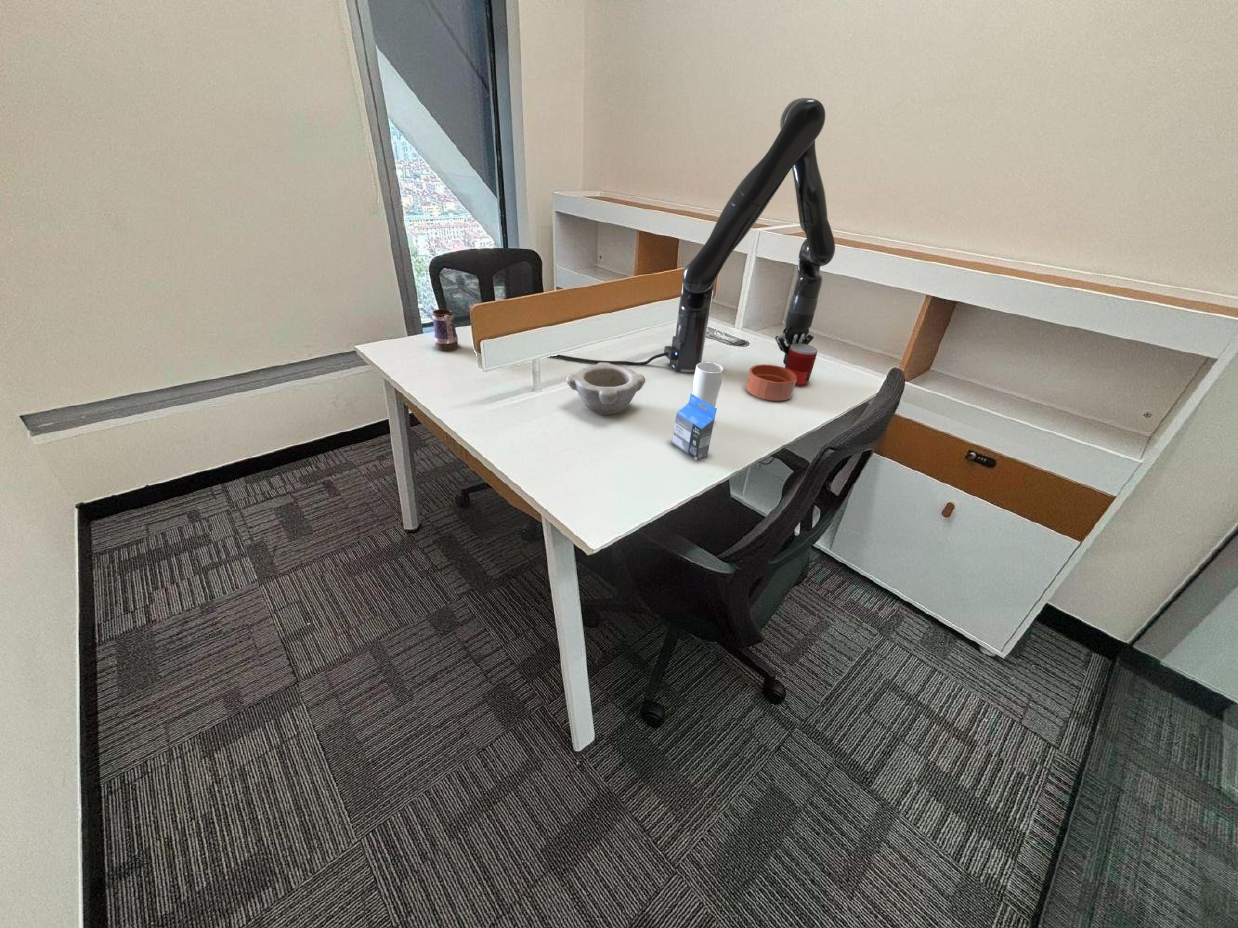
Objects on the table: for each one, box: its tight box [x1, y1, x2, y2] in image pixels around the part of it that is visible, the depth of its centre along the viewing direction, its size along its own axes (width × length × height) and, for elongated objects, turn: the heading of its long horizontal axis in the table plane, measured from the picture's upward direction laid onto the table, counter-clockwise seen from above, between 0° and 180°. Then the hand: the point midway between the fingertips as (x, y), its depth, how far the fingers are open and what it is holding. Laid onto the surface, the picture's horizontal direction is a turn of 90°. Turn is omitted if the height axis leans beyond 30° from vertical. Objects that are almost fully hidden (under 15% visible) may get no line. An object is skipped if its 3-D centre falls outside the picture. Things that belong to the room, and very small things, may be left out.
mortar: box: [565, 362, 646, 416], centre depth 130 cm, size 17×17×9 cm
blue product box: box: [671, 393, 718, 461], centre depth 113 cm, size 9×4×12 cm, turn 35°
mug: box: [431, 308, 459, 352], centre depth 156 cm, size 10×7×12 cm
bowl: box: [745, 363, 797, 402], centre depth 145 cm, size 13×13×6 cm
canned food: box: [784, 344, 818, 387], centre depth 151 cm, size 8×8×11 cm
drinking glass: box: [692, 361, 724, 410], centre depth 124 cm, size 7×7×15 cm
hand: (787, 364), depth 156 cm, fingers closed
